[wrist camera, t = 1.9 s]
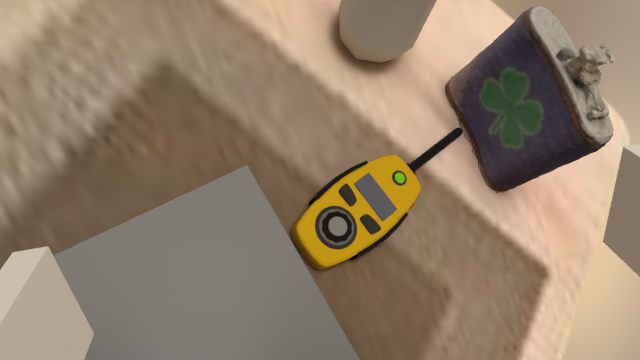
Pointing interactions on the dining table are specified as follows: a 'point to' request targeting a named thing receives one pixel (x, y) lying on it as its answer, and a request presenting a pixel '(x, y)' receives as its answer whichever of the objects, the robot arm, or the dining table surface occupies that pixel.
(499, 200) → the dining table surface
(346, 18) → the salt shaker
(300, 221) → the yellow walkie-talkie
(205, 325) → the plate
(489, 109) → the flask
